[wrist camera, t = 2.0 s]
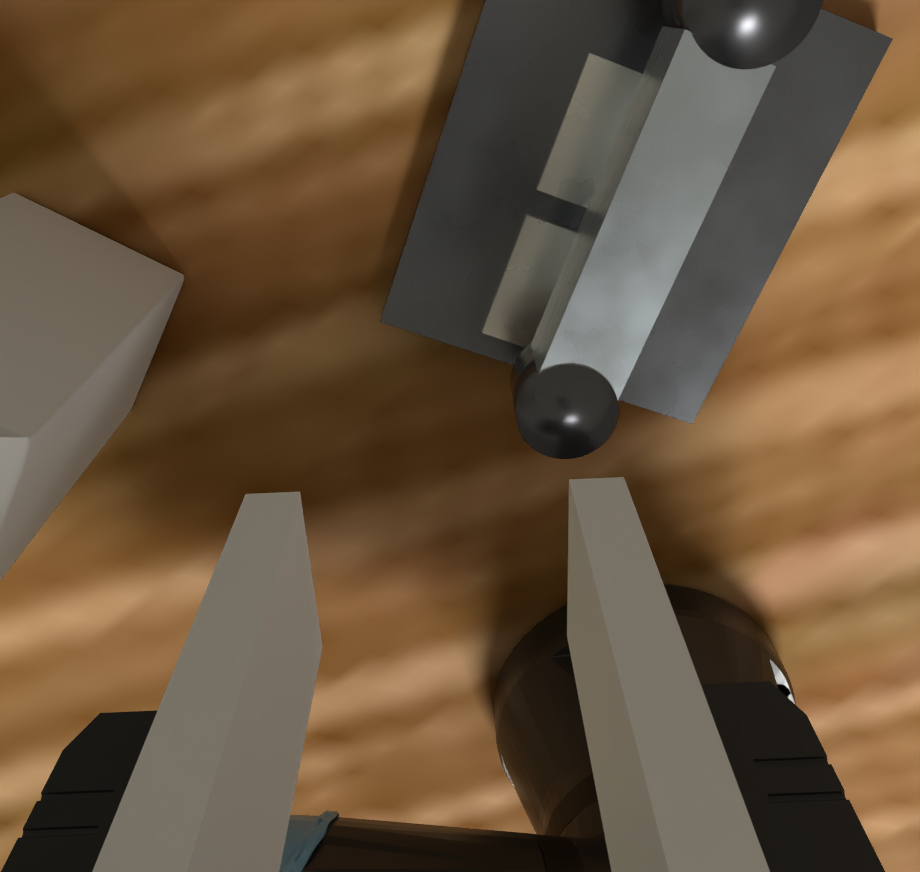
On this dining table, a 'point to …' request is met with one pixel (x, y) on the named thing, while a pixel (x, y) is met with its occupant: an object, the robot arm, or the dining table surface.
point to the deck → (578, 171)
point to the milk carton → (66, 355)
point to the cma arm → (648, 212)
